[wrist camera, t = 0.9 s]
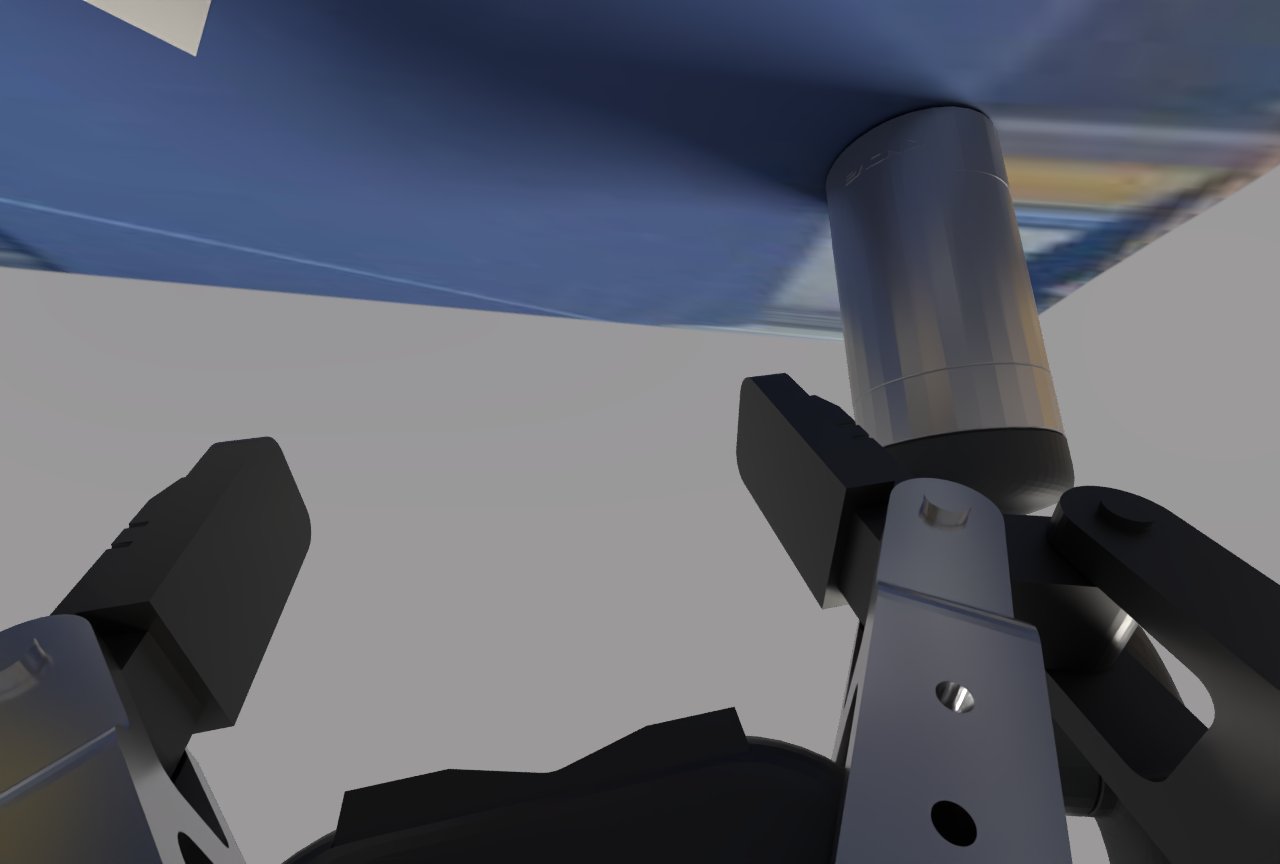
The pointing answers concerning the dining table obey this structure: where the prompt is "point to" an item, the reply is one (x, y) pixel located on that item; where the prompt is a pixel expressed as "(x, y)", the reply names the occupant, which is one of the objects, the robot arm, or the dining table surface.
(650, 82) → the dining table surface
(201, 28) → the off-white mat
